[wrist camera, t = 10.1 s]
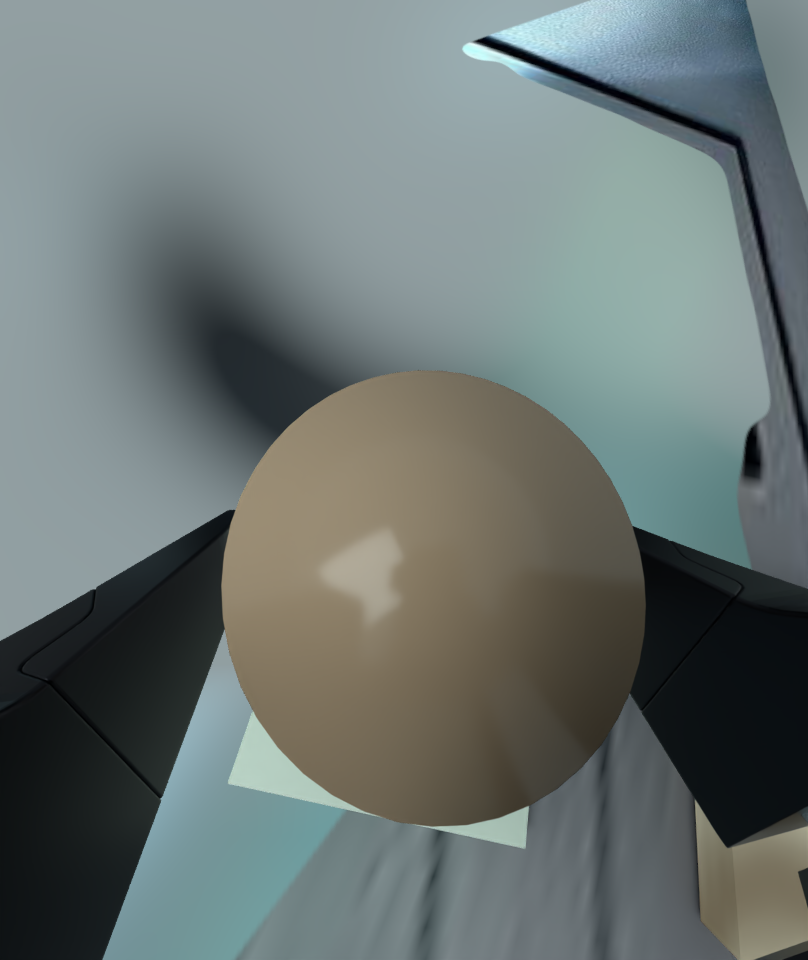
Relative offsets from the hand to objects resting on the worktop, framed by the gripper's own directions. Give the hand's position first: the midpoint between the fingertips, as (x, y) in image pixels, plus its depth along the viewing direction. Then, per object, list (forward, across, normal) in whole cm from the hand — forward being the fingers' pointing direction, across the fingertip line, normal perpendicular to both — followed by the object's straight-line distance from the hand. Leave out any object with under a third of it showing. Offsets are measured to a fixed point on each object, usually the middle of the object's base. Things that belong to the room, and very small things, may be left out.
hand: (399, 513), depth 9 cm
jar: (+4, 0, +6) cm, 7 cm away
